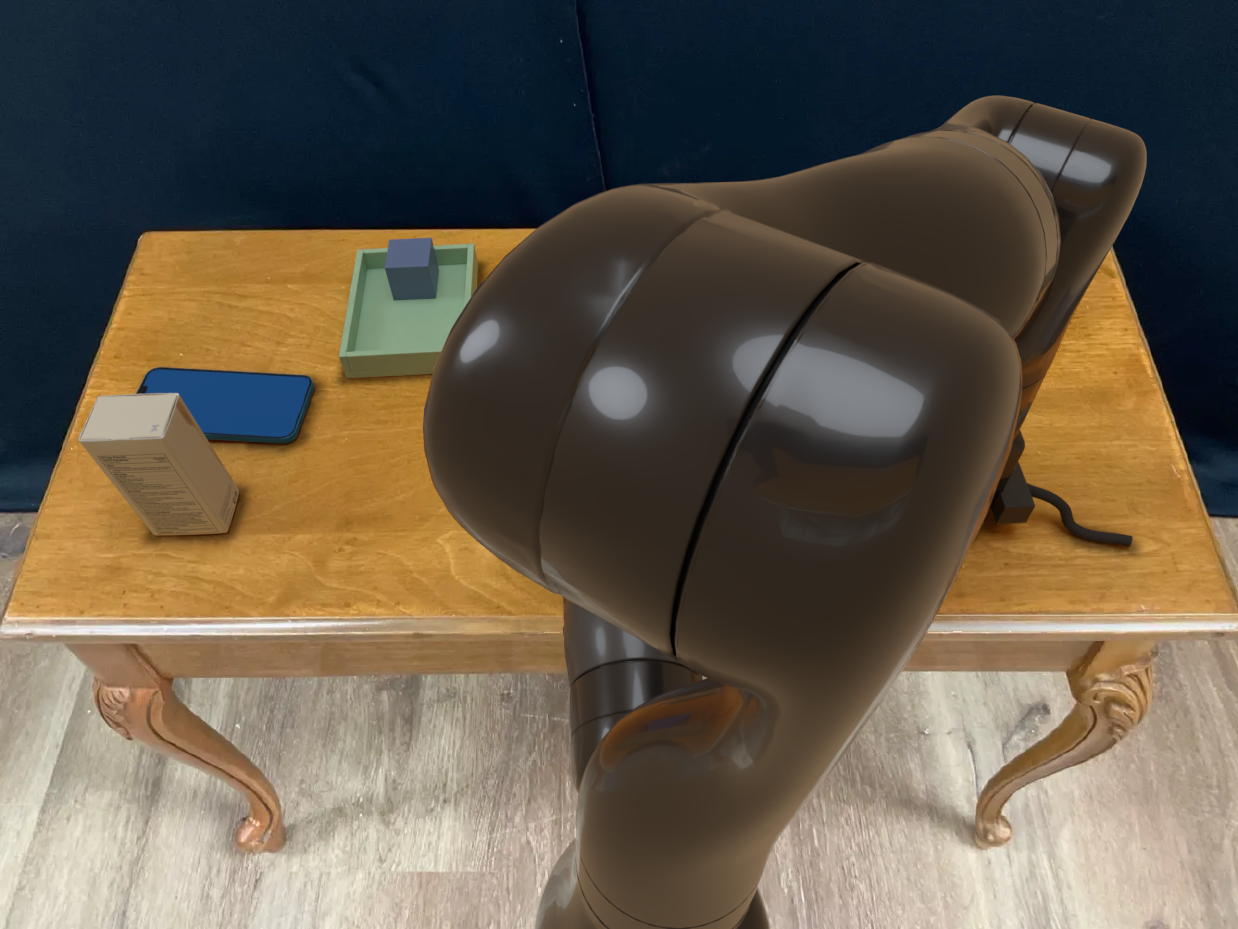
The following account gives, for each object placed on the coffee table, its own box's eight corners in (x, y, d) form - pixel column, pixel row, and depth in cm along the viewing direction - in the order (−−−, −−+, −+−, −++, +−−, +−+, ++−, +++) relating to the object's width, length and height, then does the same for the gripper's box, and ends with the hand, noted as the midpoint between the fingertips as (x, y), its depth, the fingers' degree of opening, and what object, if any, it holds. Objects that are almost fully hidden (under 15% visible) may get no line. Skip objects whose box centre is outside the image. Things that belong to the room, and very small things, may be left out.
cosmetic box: (241, 490, 79) (184, 390, 69) (228, 535, 76) (167, 438, 67) (163, 492, 79) (95, 392, 69) (148, 536, 76) (75, 439, 67)
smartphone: (292, 440, 81) (117, 429, 82) (295, 447, 82) (122, 437, 82) (315, 374, 85) (149, 365, 86) (318, 382, 86) (153, 373, 87)
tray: (478, 265, 95) (474, 243, 93) (472, 372, 86) (467, 350, 84) (364, 271, 95) (357, 249, 93) (346, 378, 86) (338, 356, 84)
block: (439, 270, 94) (431, 237, 90) (436, 298, 91) (428, 265, 88) (397, 271, 93) (389, 239, 90) (393, 300, 91) (384, 267, 88)
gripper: (765, 569, 51) (729, 345, 60) (493, 585, 51) (500, 358, 60) (753, 635, 57) (722, 421, 66) (510, 649, 57) (514, 433, 66)
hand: (616, 391), depth 63 cm, fingers open, 8 cm apart
